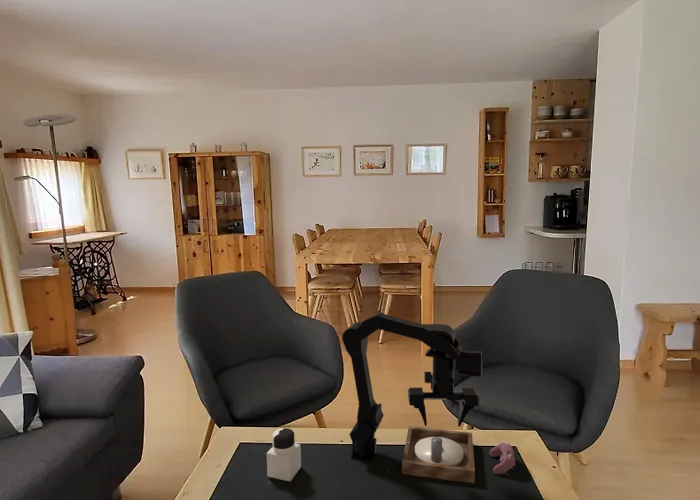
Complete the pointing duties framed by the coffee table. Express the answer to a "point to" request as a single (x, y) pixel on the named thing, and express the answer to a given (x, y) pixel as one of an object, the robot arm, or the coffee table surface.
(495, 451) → the video game controller
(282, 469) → the medicine bottle
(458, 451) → the dial
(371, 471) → the coffee table surface
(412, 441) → the dial frame
